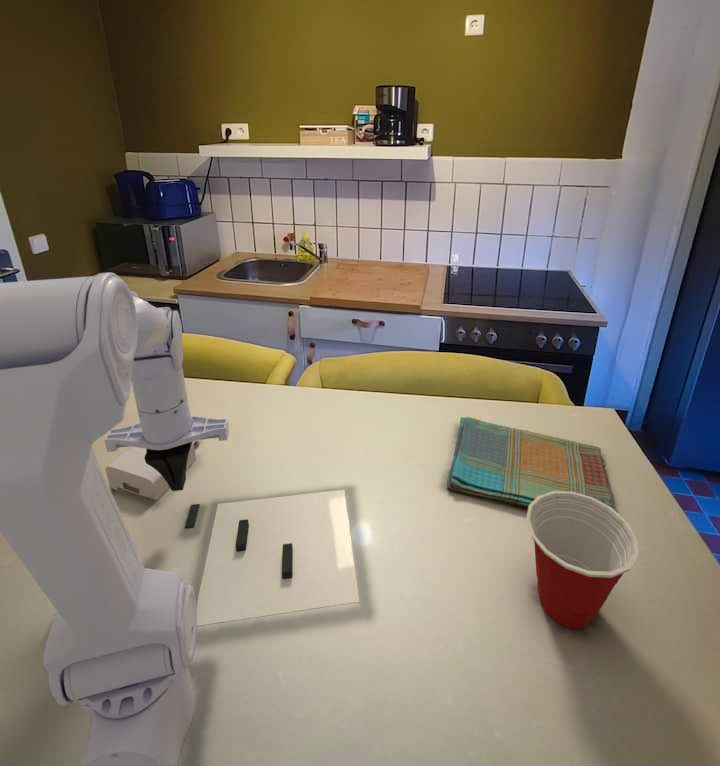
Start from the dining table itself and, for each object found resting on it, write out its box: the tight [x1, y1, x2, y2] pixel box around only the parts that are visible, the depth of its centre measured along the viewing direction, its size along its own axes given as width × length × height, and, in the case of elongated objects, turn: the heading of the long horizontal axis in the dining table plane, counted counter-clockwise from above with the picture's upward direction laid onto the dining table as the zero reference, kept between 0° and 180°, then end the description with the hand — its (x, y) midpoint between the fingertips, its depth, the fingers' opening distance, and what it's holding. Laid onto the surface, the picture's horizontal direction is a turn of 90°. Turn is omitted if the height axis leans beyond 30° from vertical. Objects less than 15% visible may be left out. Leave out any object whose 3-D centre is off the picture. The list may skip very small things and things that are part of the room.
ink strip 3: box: [282, 543, 293, 579], centre depth 53 cm, size 4×1×1 cm, turn 8°
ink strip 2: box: [236, 519, 249, 552], centre depth 57 cm, size 4×1×1 cm, turn 8°
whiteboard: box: [196, 489, 360, 627], centre depth 56 cm, size 18×20×1 cm
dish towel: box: [446, 416, 616, 511], centre depth 69 cm, size 17×23×2 cm
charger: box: [104, 440, 198, 501], centre depth 71 cm, size 5×9×15 cm
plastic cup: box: [525, 491, 640, 630], centre depth 48 cm, size 11×11×12 cm
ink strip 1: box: [184, 503, 200, 529], centre depth 61 cm, size 4×1×1 cm
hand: (178, 485), depth 58 cm, fingers closed
